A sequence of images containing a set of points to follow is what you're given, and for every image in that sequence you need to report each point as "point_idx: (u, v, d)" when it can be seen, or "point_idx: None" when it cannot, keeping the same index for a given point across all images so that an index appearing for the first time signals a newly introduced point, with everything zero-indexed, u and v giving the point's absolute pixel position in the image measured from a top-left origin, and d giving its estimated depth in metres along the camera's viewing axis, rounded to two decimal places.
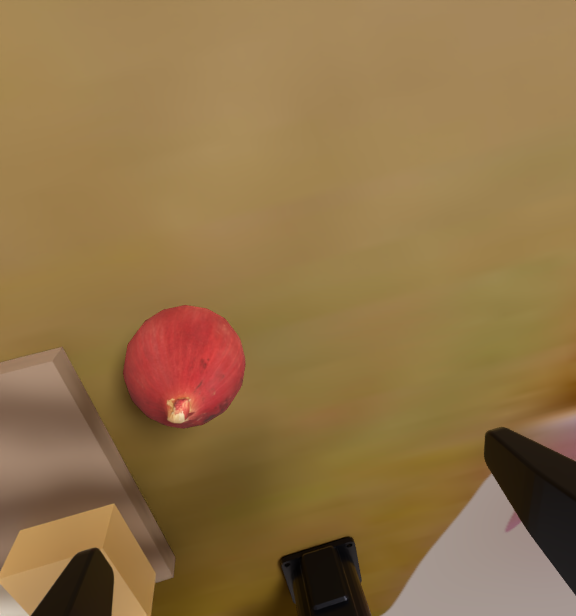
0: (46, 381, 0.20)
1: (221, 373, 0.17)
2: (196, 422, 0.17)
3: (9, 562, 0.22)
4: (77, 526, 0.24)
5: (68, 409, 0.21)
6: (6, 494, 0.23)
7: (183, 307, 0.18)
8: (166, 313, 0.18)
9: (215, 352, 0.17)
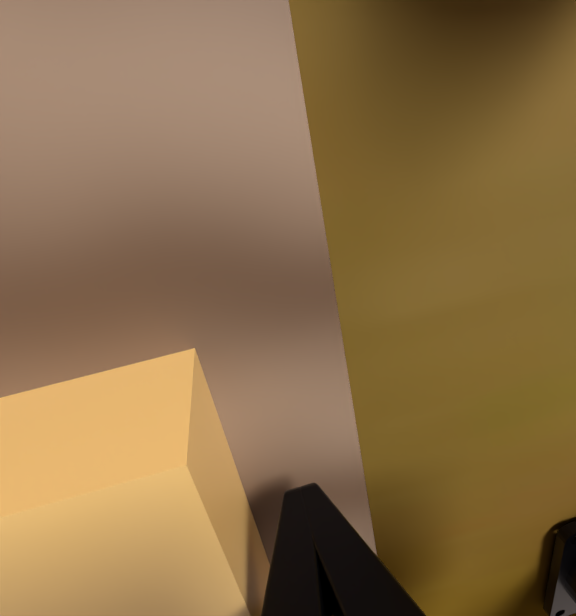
0: None
1: None
2: None
3: None
4: (73, 407, 0.07)
5: None
6: None
7: None
8: None
9: None
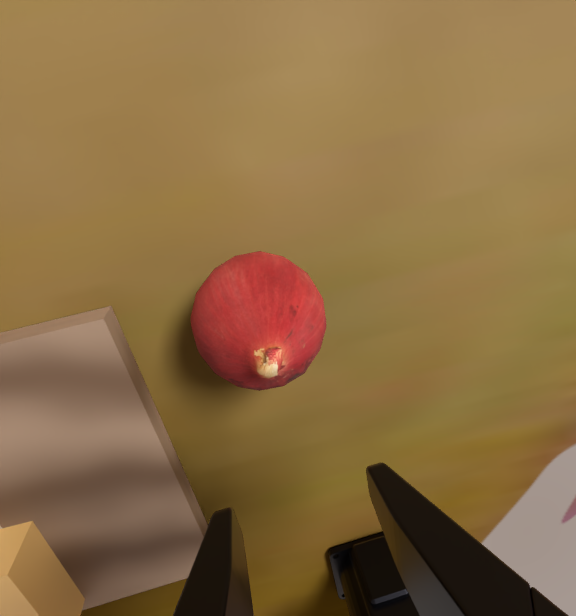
0: (96, 342, 0.18)
1: (310, 323, 0.15)
2: (281, 381, 0.15)
3: None
4: None
5: (117, 376, 0.19)
6: (45, 472, 0.21)
7: (259, 252, 0.16)
8: (241, 258, 0.16)
9: (303, 299, 0.15)
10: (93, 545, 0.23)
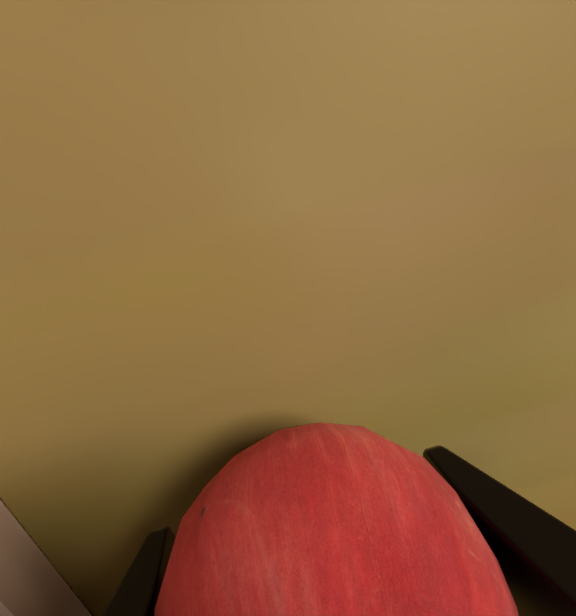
0: None
1: None
2: None
3: None
4: None
5: None
6: None
7: (336, 451, 0.06)
8: (292, 479, 0.06)
9: None
10: None
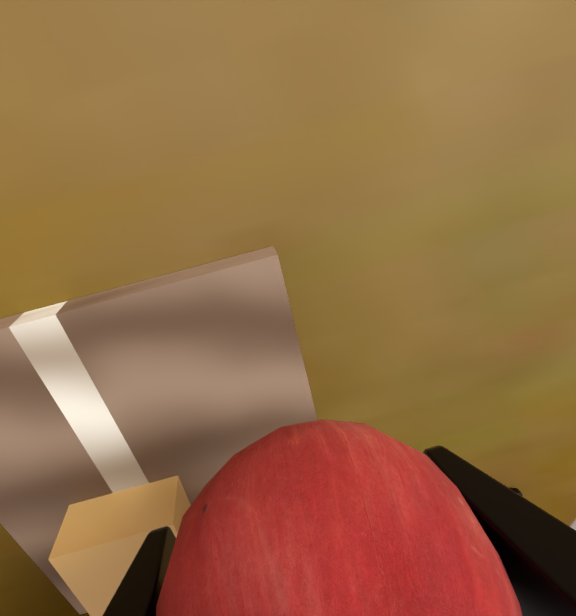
0: (266, 280, 0.18)
1: None
2: None
3: (61, 540, 0.19)
4: (138, 500, 0.20)
5: (281, 318, 0.19)
6: (197, 423, 0.20)
7: (339, 448, 0.06)
8: (293, 476, 0.06)
9: None
10: None
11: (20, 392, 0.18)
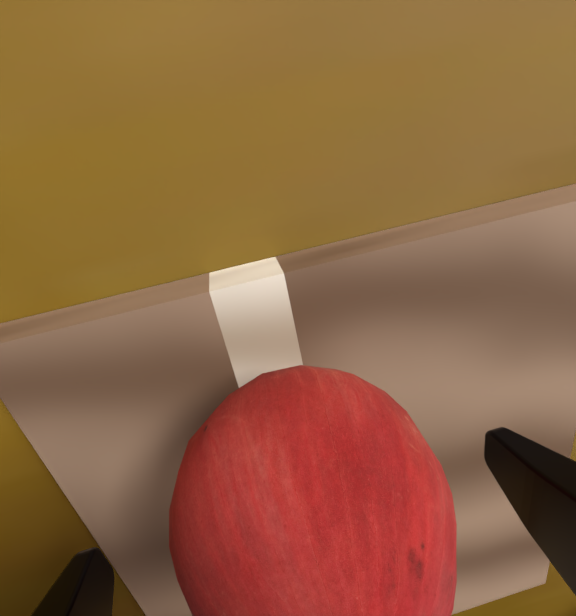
0: None
1: (449, 574, 0.06)
2: None
3: None
4: None
5: None
6: None
7: (309, 378, 0.08)
8: (273, 396, 0.07)
9: (430, 515, 0.06)
10: None
11: (200, 398, 0.11)
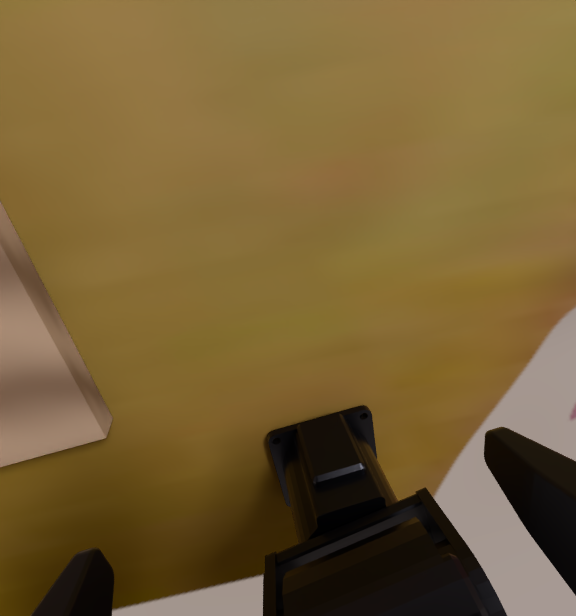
0: None
1: None
2: None
3: None
4: None
5: None
6: None
7: None
8: None
9: None
10: None
11: None
